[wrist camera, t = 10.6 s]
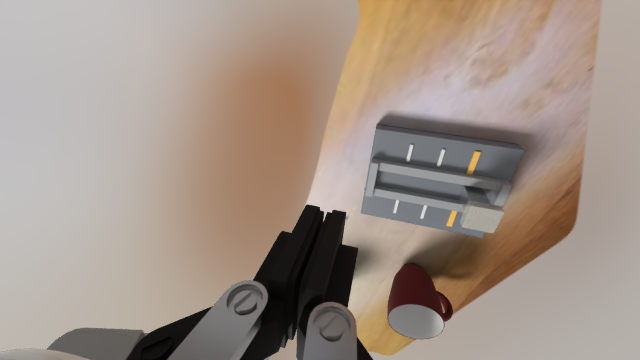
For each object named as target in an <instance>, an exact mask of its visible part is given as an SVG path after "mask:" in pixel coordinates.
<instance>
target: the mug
mask: <svg viewBox="0 0 640 360" xmlns="http://www.w3.org/2000/svg"><path fill="white" fill-rule="evenodd" d="M440 302H441V303H442V305H443V306H444V309H445V313H443V310H442V306H441V303H440ZM452 314H453V309H452V305H451V303H450V301H449V300H448V299H447V298H446V297H445V296H444V295H443V294H442V293H440V292H438V291H436V289H435V286H434V284H433V281H432V279H431V278H430V276H429V275H428V274H427V273H426V272H425V271H424V269H423V268H422V267H420V266H419V265H416V264H406V265H404V266H403V267H402V268H401V269H400V270H399V271H398V273H397V274H396V275H395V277H394V280H393V284H392V288H391V292H390V296H389V300H388V322H389V325H390V326H391V327H392V328H393V329H394V330H395V331H396V332H397V333H399V334H401V335H403V336H406V337H409V338H413V339H429V338H433V337H435V336H437V335H439V334H440V333H441V332H442V331H443V328H444V322H445V321H448V320H449V319H450V318H451V317H452Z"/></svg>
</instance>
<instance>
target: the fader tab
mask: <svg viewBox="0 0 640 360" xmlns="http://www.w3.org/2000/svg"><path fill="white" fill-rule="evenodd" d="M459 199H460V202H461V205H462V208H463V210H464V212H463V215H462V217H461V219H460V224H461V227H463V228H468V229H473V230H478V231H484V232H489V233H494V232H495V230H496V228H497V226H498V224H499V222H500V220H501V218H502V216H503V214H504V210H503V209H502V207H501V206H498V205H492V204H491V203H490V202H489V200H488V198H487V196H486V194H485V192H484V190H483V189H478V188H472V187H466V186H464V187H463V190H462V192H461V195H460V198H459Z"/></svg>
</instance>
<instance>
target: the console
mask: <svg viewBox="0 0 640 360" xmlns="http://www.w3.org/2000/svg"><path fill="white" fill-rule="evenodd" d="M523 153H524V150H523V149H522V148H521V147H520V146H519V145H518V144H511V143H504V142H497V141H490V140H483V139H476V138H469V137H462V136H455V135H448V134H441V133H434V132H426V131H419V130H412V129H405V128H398V127H391V126H384V125H377V126H376V131H375V136H374V142H373V147H372V153H371V159H370V164H369V170H368V176H367V181H366V187H365V192H364V198H363V204H362V209H361V213H362V214H367V215H372V216H377V217H382V218H387V219H392V220H397V221H402V222H407V223H412V224H417V225H422V226H427V227H432V228H437V229H442V230H447V231H452V232H457V233H461V234H466V235H471V236H476V237H481V238H482V237H483V235H484V233H485V232H484V231H478V230H473V229H468V228H463V227H461V224H460V219H461V217H462V215H463V212H464V210H463V208H462V205H461V202H460V199H459V198H460V195H461V192H462V190H463V187H464V186H466V187H472V188H478V189H483V190H484V192H485V194H486V196H487V198H488V200H489V202H490V203H491V204H492V205H498V206H501V207H502V206H503V204H504V202H505V200H506V198H507V196H508V194H509V192H510V190H511V188H512V185H511V184H510V183H509V182H510V179H511V177H512V175H513V173H514V171H515V169H516V167H517V165H518V163H519V161H520V159H521V157H522V155H523Z"/></svg>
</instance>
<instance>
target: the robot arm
mask: <svg viewBox="0 0 640 360" xmlns="http://www.w3.org/2000/svg"><path fill="white" fill-rule="evenodd" d="M345 218H346V212H342V211H337V210H333V211H332V213H329V212H327V214H326V217H325V220H324V222H323V219H324V211H320V207H317V206H312V205H306V206H305V208H304V210H303V212H302V214H301V216H300V218H299V220H298V222H297V224H296V226H295V227H294V229H293V231H292V233H289V232H285V231H282V232H281V233H280V234H279V236H278V238H277V239H276V241H275V243H274V244H273V246H272V248H271V250H270V251H269V253H268V255H267V257H266V259H265V260H264V262H263V264H262V265H261V267H260V269H259V271H258V272H257V274H256V276H255V278H254V279H253V281H252V280H249V281H241V282H238V283H236V284H234V285H232V286H231V287H230V288H229V289H228V290H227V291H226V292H225V293H224V294H223V295H222V296H221V298H220V299H219V300H218V301H217V302H216V303H215V304H214V306H212V307H210V308H207V309H205V310H203V311H200V312H198V313H195V314H193V315H190V316H188V317H185V318H183V319H180V320H178V321H175V322H173V323H171V324H168V325H166V326H163V327H161V328H158V329H156V330H154V331H152V332H150V333H144V332H143V330H127V329H103V328H80V329H75V330H73V331H70V332H68V333H66V334H64V335H63V336H61V337H59V338H58V339H57V340H55V341H54V342H53V343H52V344H51V345H50V346H49V347H48V348H47V349H16V350H9V351H2V352H0V360H269V358H270V356H271V355H273V354H275V353H276V352H278V351H279V349H280V347H283V348H285V346H286V343H287V341H288V339H291V340H293V339H294V336H295V333H296V330H297V355H296V357H297V359H298V360H373V359H372V358H371V356H370V355H369V353H368V352H367V350H366V349H365V347H364V346H363V345H362V343H361V342H360V340H359V339H358V337H357V329H356V321H355V318H354V316H353V314H352V313H351V312H350V310H349V309H348V302H349V296H350V291H351V285H352V280H353V274H354V269H355V263H356V258H357V252H358V248H356V247H351V246H347V245H343V244H342V239H343V232H344V225H345Z"/></svg>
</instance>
